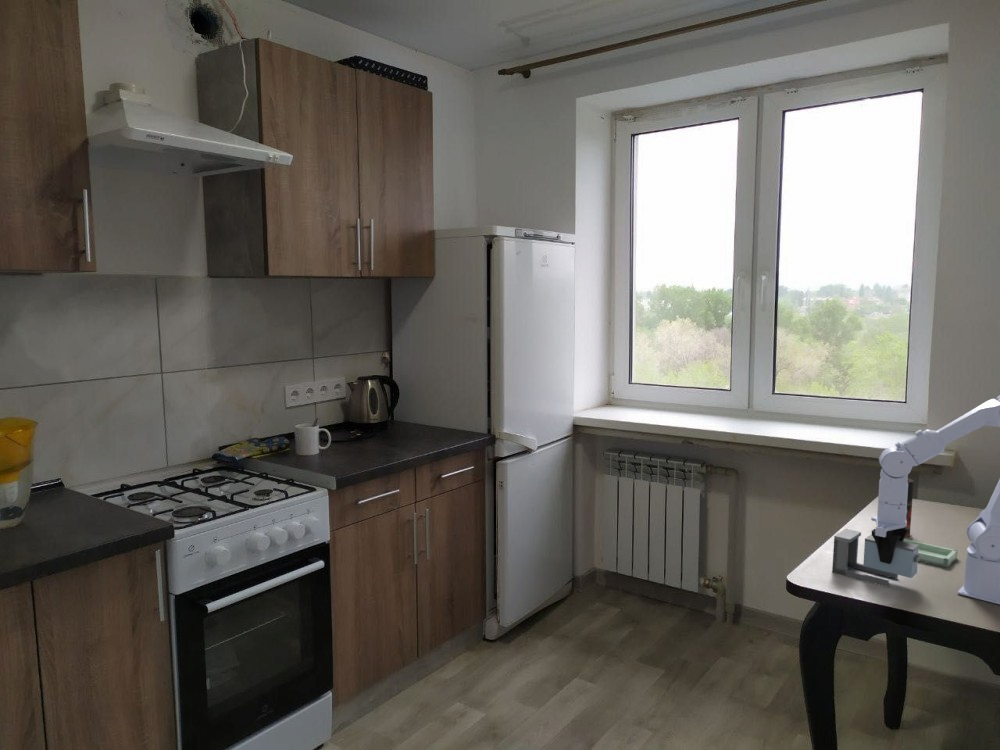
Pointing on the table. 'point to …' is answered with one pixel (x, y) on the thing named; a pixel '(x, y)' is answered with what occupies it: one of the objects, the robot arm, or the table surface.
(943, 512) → the table surface
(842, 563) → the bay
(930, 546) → the tray
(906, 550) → the pale blue block
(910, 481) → the deodorant
